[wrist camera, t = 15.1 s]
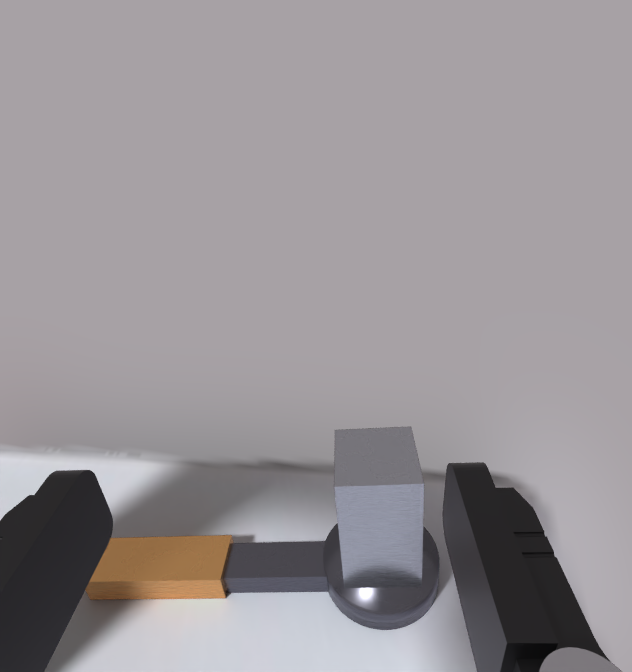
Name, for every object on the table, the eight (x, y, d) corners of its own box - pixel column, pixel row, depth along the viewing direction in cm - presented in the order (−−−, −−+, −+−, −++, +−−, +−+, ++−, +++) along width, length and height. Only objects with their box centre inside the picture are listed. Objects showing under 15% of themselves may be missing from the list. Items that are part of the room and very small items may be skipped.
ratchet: (74, 631, 30) (44, 579, 28) (124, 531, 38) (104, 483, 35) (449, 629, 28) (453, 572, 26) (427, 524, 35) (429, 472, 33)
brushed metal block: (344, 588, 29) (334, 486, 25) (343, 524, 34) (334, 429, 30) (421, 586, 29) (424, 483, 25) (410, 522, 33) (411, 426, 29)
